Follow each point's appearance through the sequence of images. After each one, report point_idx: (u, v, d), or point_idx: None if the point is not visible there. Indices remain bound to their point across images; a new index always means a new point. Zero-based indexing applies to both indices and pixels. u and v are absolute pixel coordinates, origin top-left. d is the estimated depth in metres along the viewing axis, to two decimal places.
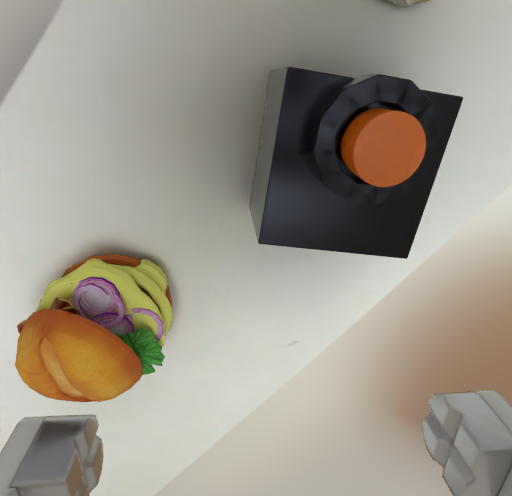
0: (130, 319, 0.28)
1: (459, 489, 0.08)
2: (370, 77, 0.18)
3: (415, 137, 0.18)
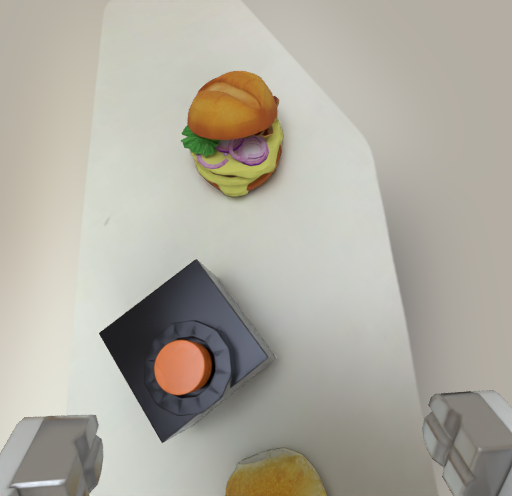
0: (223, 153, 0.37)
1: (459, 490, 0.08)
2: (224, 392, 0.26)
3: (172, 386, 0.25)
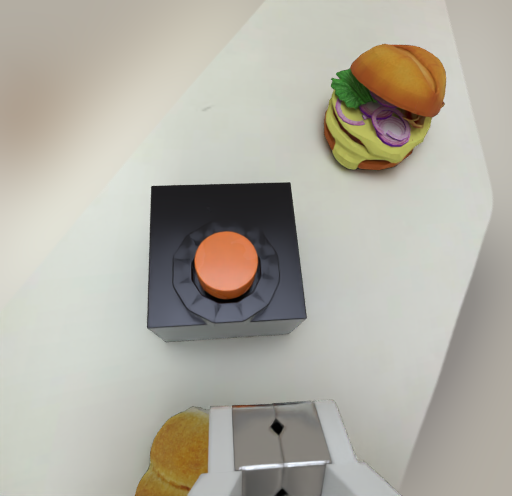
0: (363, 115, 0.34)
1: None
2: (248, 318, 0.22)
3: (208, 274, 0.21)
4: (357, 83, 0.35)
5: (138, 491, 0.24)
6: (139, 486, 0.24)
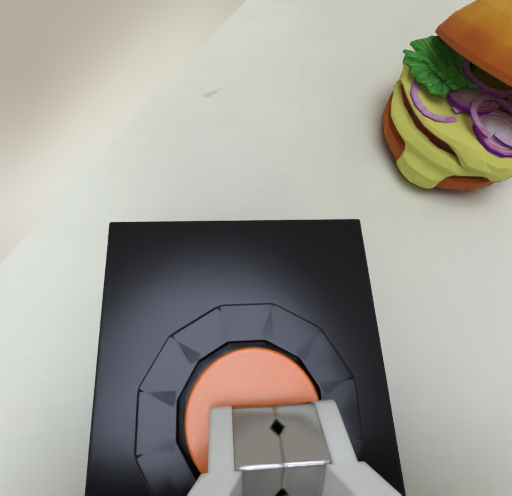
0: (454, 107, 0.22)
1: None
2: None
3: None
4: (441, 59, 0.23)
5: None
6: None
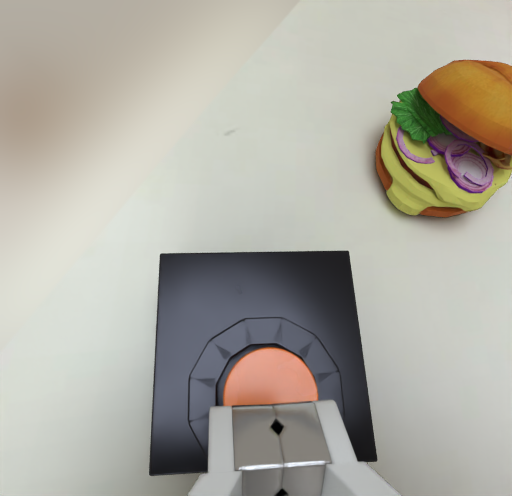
0: (432, 150, 0.26)
1: None
2: None
3: None
4: (423, 108, 0.27)
5: None
6: None
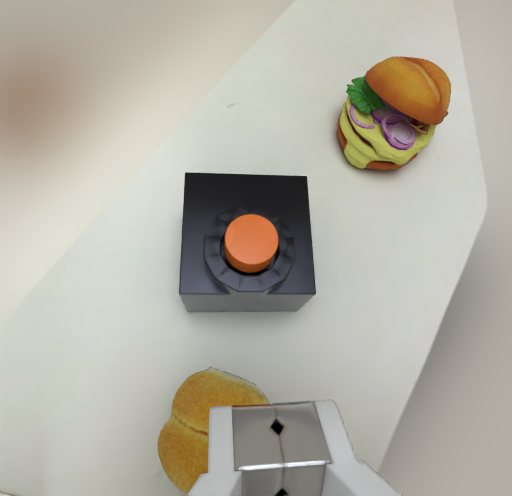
0: (374, 120, 0.37)
1: None
2: (267, 289, 0.25)
3: (236, 249, 0.24)
4: (370, 90, 0.38)
5: (162, 434, 0.28)
6: (163, 431, 0.28)
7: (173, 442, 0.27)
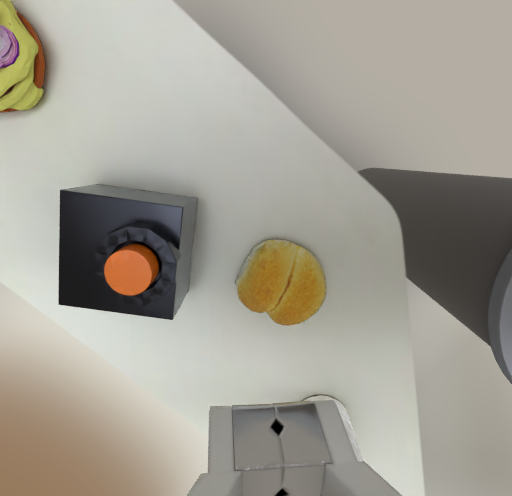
0: None
1: None
2: (175, 257, 0.29)
3: (137, 287, 0.28)
4: None
5: (277, 322, 0.38)
6: None
7: (283, 319, 0.37)
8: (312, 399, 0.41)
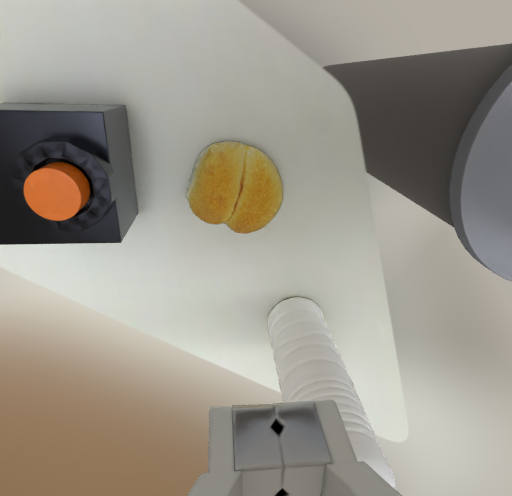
0: None
1: None
2: (105, 171, 0.26)
3: (67, 210, 0.25)
4: None
5: (236, 231, 0.36)
6: (234, 230, 0.36)
7: (241, 226, 0.35)
8: (284, 302, 0.41)
